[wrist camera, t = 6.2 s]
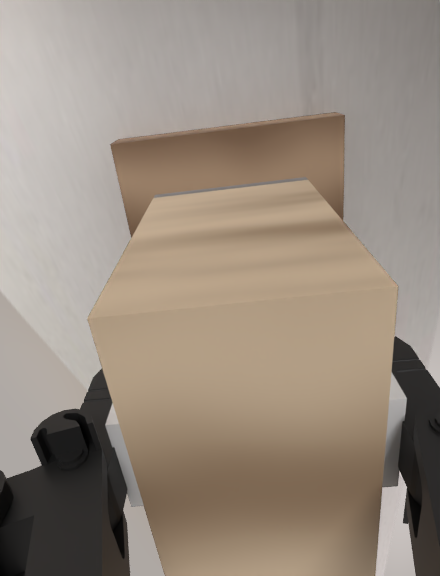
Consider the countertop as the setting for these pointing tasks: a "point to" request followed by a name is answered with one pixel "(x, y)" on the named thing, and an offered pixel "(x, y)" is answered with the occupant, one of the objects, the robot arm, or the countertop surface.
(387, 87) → the countertop surface
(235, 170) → the walnut board
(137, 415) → the block
